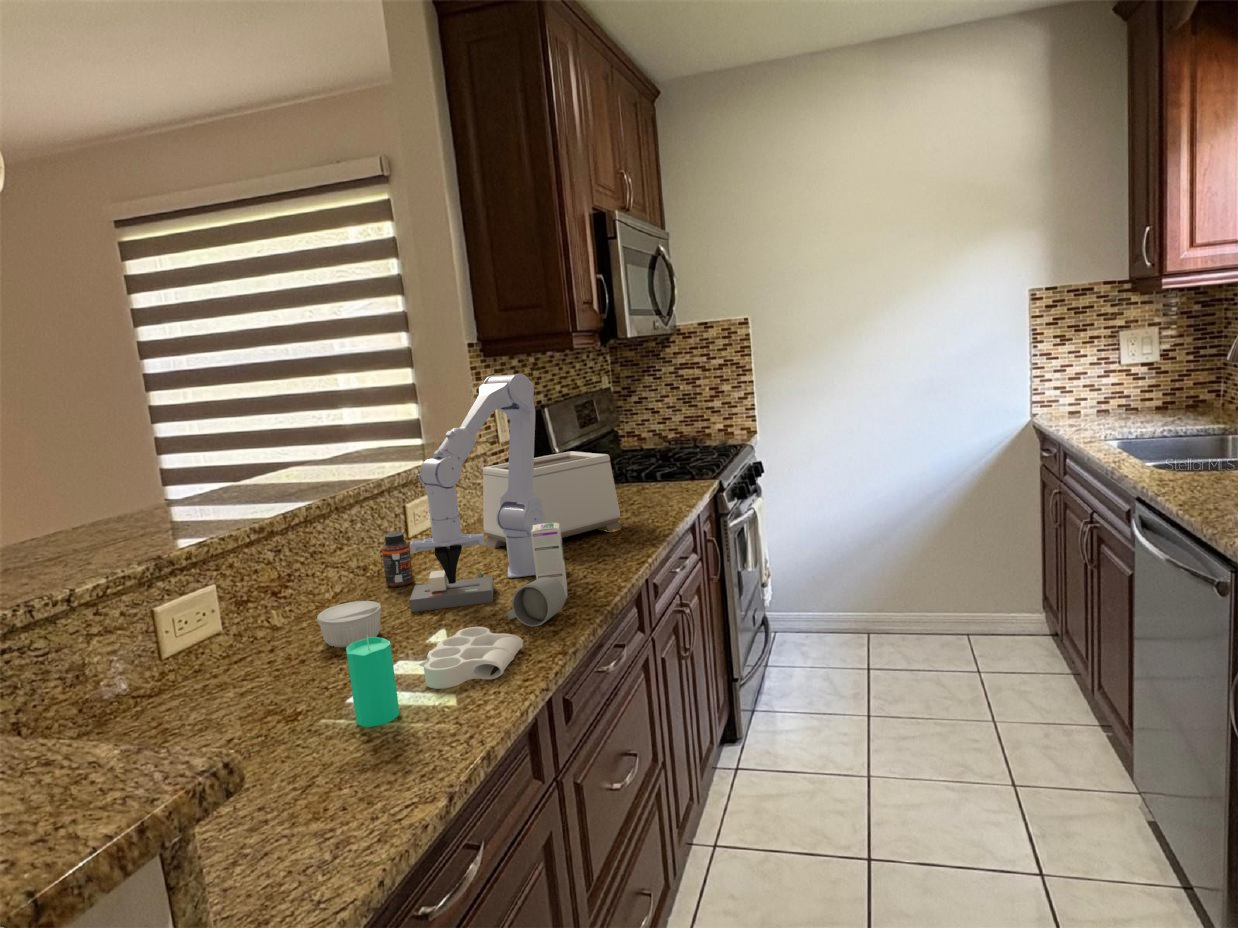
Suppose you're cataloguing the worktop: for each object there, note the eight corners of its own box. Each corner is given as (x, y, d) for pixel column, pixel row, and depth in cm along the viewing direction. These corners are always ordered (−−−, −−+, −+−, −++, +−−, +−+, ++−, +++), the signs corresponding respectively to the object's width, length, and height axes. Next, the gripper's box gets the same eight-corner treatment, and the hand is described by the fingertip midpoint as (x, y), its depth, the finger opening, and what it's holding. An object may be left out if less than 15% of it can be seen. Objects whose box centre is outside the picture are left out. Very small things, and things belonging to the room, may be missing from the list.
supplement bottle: (406, 587, 173) (399, 537, 172) (381, 588, 175) (374, 538, 173) (418, 579, 179) (412, 530, 178) (394, 579, 181) (387, 531, 179)
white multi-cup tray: (495, 690, 117) (403, 691, 120) (529, 644, 135) (448, 645, 137) (493, 669, 117) (400, 670, 119) (527, 625, 134) (445, 627, 137)
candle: (361, 709, 114) (350, 629, 112) (403, 704, 114) (393, 625, 112) (350, 729, 108) (339, 645, 106) (395, 723, 108) (384, 640, 106)
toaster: (632, 527, 212) (625, 452, 209) (523, 557, 191) (515, 473, 188) (588, 519, 227) (582, 448, 224) (484, 546, 206) (475, 468, 203)
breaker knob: (447, 582, 164) (446, 569, 163) (445, 590, 159) (444, 576, 158) (432, 584, 163) (431, 571, 163) (430, 591, 159) (428, 578, 158)
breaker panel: (494, 576, 176) (493, 564, 176) (492, 602, 158) (491, 589, 158) (421, 584, 174) (419, 573, 174) (410, 612, 156) (409, 599, 156)
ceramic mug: (570, 612, 148) (565, 572, 147) (551, 628, 140) (546, 586, 139) (519, 611, 152) (515, 572, 151) (499, 626, 144) (493, 585, 143)
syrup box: (567, 599, 156) (560, 527, 154) (537, 602, 155) (530, 530, 153) (567, 590, 161) (560, 521, 159) (538, 593, 161) (531, 524, 159)
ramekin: (358, 652, 137) (354, 623, 136) (306, 648, 141) (302, 620, 140) (397, 628, 147) (393, 601, 147) (348, 625, 151) (344, 599, 151)
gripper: (405, 525, 155) (413, 592, 157) (480, 517, 156) (487, 583, 158) (409, 518, 161) (417, 582, 163) (481, 510, 163) (488, 573, 165)
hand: (452, 582), depth 161 cm, fingers closed
